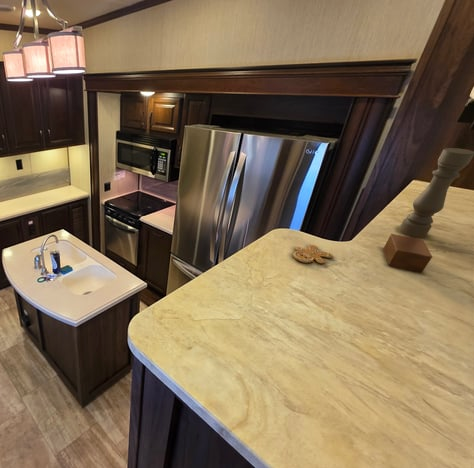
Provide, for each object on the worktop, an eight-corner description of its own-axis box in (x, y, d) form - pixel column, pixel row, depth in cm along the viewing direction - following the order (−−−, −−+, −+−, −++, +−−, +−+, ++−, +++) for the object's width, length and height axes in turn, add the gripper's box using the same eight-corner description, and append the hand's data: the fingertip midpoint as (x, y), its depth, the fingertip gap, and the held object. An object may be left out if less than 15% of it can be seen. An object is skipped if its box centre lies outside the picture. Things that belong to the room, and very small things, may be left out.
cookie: (338, 256, 78) (312, 265, 75) (336, 259, 79) (310, 268, 76) (309, 241, 85) (284, 249, 82) (308, 244, 86) (283, 252, 83)
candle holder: (422, 230, 89) (471, 149, 76) (428, 239, 85) (481, 155, 72) (396, 225, 92) (439, 146, 79) (400, 234, 88) (446, 152, 75)
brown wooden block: (413, 254, 79) (423, 239, 76) (422, 272, 73) (432, 256, 70) (383, 248, 82) (391, 233, 80) (388, 265, 76) (397, 249, 73)
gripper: (570, 43, 56) (509, 134, 65) (525, 44, 68) (479, 120, 77) (511, 45, 59) (462, 132, 68) (479, 46, 71) (440, 119, 80)
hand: (471, 126), depth 72 cm, fingers open, 9 cm apart
